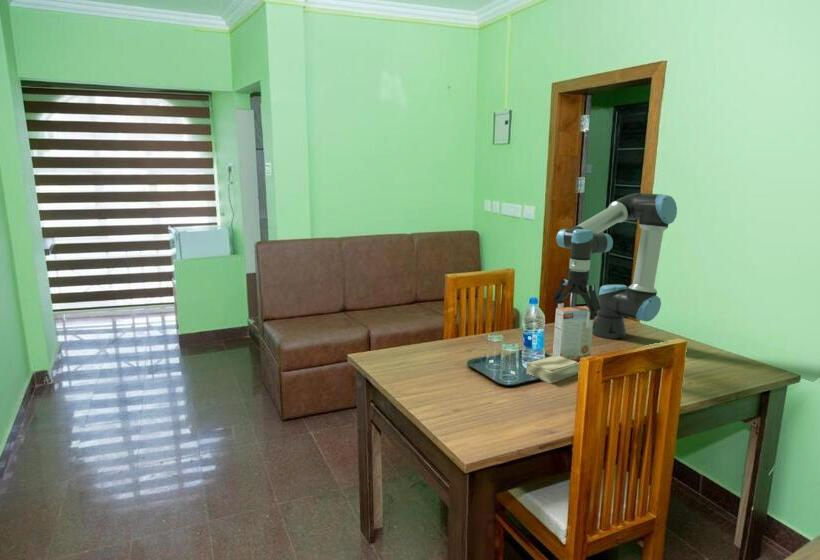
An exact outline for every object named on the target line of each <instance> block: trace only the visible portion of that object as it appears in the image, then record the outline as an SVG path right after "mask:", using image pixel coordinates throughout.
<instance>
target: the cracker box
mask: <svg viewBox="0 0 820 560" xmlns="http://www.w3.org/2000/svg"><path fill="white" fill-rule="evenodd" d="M588 311H590V310H589V308H588V306H587V305H583V306H580V305H579V306H570V307H568V306H566V307H563V308H555V314H554V315H555V317H554V327H553V328H554V330H553V331H554V333H553V344H552V345H553V346H552V356H553V355H558V356H561V357H564V358H567V359H570V360H573V361H576V362H580V361H579V360H580V358H582V357H587V356H590V357H591V351H592V350H591V348H592V337H593V334H592V329H593V323H594V322H593V323H592V327H591V328H586V325H587V315H588Z"/></svg>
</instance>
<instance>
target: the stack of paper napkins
mask: <svg viewBox="0 0 820 560" xmlns="http://www.w3.org/2000/svg"><path fill="white" fill-rule="evenodd" d="M579 363H580V361H573V360H570V359H567V358H564V357H561V356H558V355H553V354H552V355H551V356H547V357H544V358H540V359H536V360H534V361H530V362H528V363H527V362H526V368H525V369H526V371H525V373H526V375H528V374H529V375H528V376H530V375H532V376H531V377H533V376H535V377H538V378H540V379H539V380H540V381H544V382H546V383H548V384H553V383H556V382H559V381H562V380H564V379H568V378H571V377H573V376H576V375H578V374H577V373H578V365H579ZM535 377H534V378H535ZM538 378H537V379H538Z"/></svg>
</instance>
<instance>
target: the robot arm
mask: <svg viewBox="0 0 820 560" xmlns="http://www.w3.org/2000/svg"><path fill="white" fill-rule="evenodd" d="M675 200H676V199H674V197H672V196H671V195H667V194H663V193H661V194H659V193H658V194H657V193H641V192H638V193H637V192H636V193H631V194H628V195H625V196H622V197H620V198H618V199H616V200H614V201H612V202H611V203H610V204H609V205H608V207H606V208H605V209H604V210H602V211H600V212H599V213H597V214H595V215H593V216H591V217H589V218H588V219H586V220H584V221H583V222H581V223H580V224H578V225H576V226H574V227H572V228H570V229H568V228H562V229H560V230H559V231H558V232H557V234H556V237H555V239H556V240H555V241H556V244H557V245H558V246H559V247H561V248H565V249H570V256H569V265H568V267H569V270H568V273H567V274H568V275H567V278H568V279H566V278H565V279H561V281H560V284H559V286H558V288H557V289H556V291H555V293H554V295H553V297H552V301H553V302H556V306H555V307H556V308H565V307H564V305H565V303H564V301H565V299H567V298H568V297H569V296H570V295H571V294H576V295H580V297H582V299H583V301H584V302H585V305H586V306H587V307H588V308H589V310H590V311H588V315H587V325H586V328H591V327H592V323H593V329H592V335H594V336H597V337H599V338H604V339H609V340H610V339H613V340H618V339H617V338H621V339H624V337H625V338H626V337H627V328H626V324H625V320H624V317H627V318H630V319H634V320H637V321H642V322H650V321H652V320H654V319H655V317H657V315H658V314H659V312H660V310H661V307H662V301H661V298H660V297H659V296H658V295H657V294H658V291H657V289H656V288H655V283H656V276H657V272H658V271H657V270H658V266H659V259H660V254H661V248H662V241H663V235H664V232H665V231H666V230H667V229H668V228H669V224H670V225H671V224H673V222H675V220H676V218H677V214H678V207H677V202H676V201H675ZM626 221H638V226H639V228H640V229H641V232H640V236H639V237H640V238H639V244H638V248H637V249H638V250H637V255H636V261H635V267H634V274H633V280H632V284H630V285H629V286H627V285H625V284H604V285H602V286H600V287H599V293H598V296H597V293H596V286H595V284H591V285H590V284H589V283H588V281H589V278H590V271H589V270H590V269H591V268H590V267H591V256H592V254H603V253H607V252H610V251H611V250H612V248H613V244H614V241H613V238H612V236H611V235H610V234H608V233H602V232H604V231H606V230H607V229H609V228H610V227H612V226H614V225H616V224H618V223H623V222H626ZM567 286H568V288H567V289H565V288H566V287H567ZM556 308H555V309H556Z"/></svg>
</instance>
